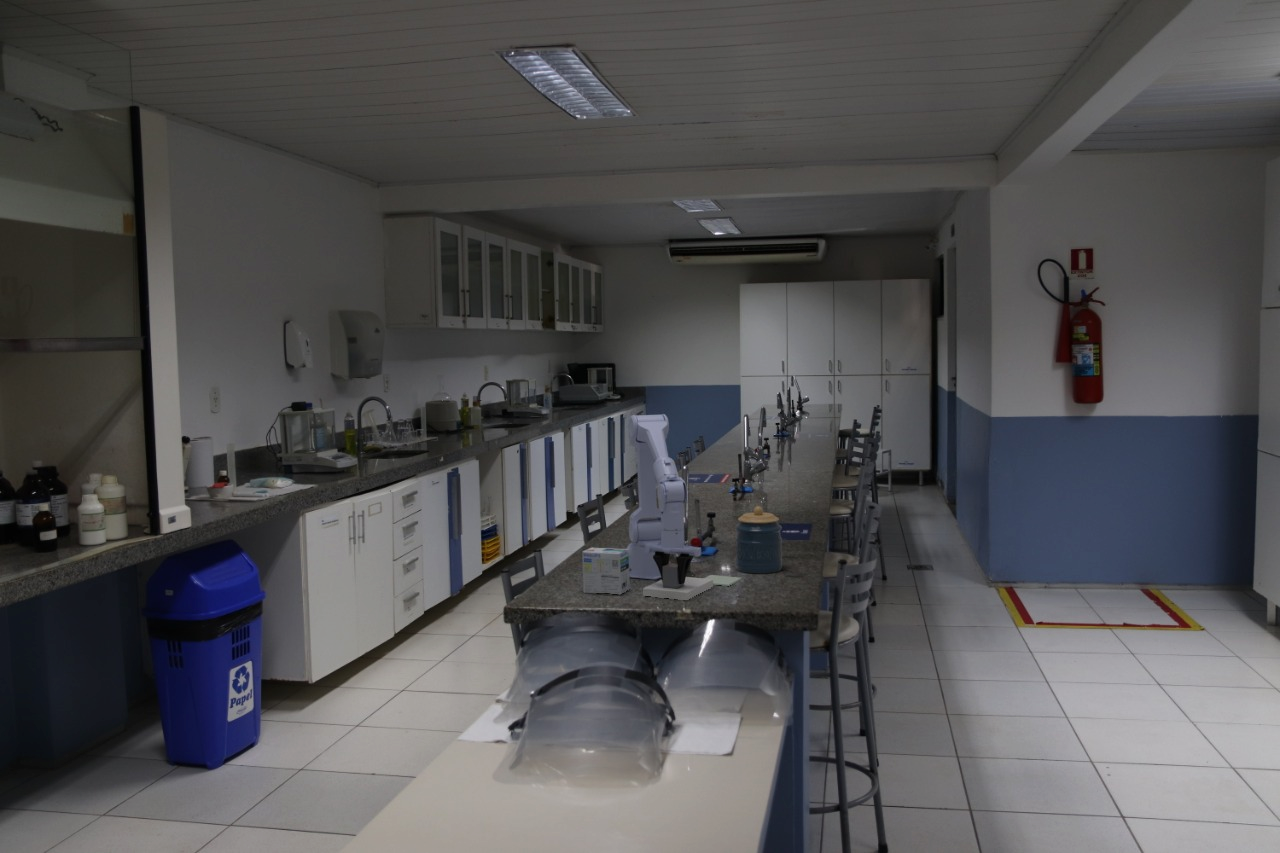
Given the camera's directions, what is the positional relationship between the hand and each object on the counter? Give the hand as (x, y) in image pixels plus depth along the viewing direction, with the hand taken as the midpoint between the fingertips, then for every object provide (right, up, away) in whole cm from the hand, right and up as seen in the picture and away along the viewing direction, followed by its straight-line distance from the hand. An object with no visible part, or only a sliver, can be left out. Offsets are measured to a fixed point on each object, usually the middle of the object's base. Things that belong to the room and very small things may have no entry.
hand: (673, 582), depth 253 cm
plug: (0, -3, 0) cm, 3 cm away
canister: (+25, -1, +28) cm, 37 cm away
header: (+1, -3, +3) cm, 4 cm away
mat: (+13, -2, +13) cm, 18 cm away
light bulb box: (-17, -3, +4) cm, 18 cm away
